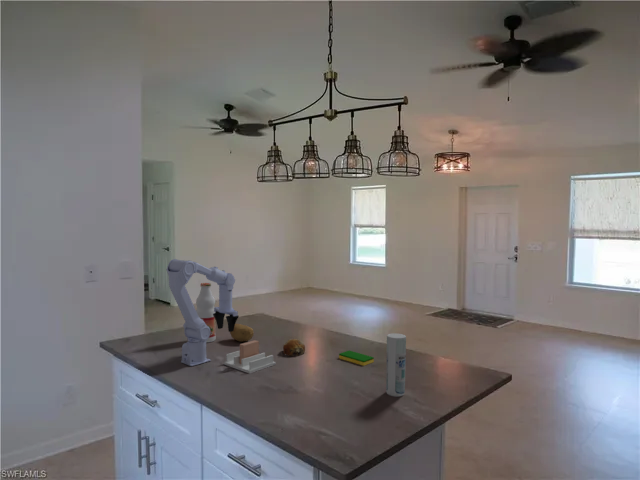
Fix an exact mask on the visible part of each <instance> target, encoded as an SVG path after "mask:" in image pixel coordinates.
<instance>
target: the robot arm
mask: <svg viewBox="0 0 640 480" xmlns="http://www.w3.org/2000/svg"><path fill="white" fill-rule="evenodd" d="M166 272H167V275H168V285H169V287H168V288H169V289H170V291H171V293H172V296H173V298H174V300H175V302H176V304H177V307H178V309H179V311H180V313H181V315H182V317H183V319H184V323H183V325H182V327H183V330H184V332H183V333H184V335H185V337H186V340H187V342H184V343H182V346H181V360H180V363H182V364H185V365H187V366H190V367H195V366H198V365H200V364H204V363H207V362H211V361H212V360H211V359H210V358H207V343H206V341H207V340H208V338H209V336H210V328H209V327H208V326H207V325H206V324H205V322H204V321H203V320H202V319H200V318H199V316H198V314H197V312H196V310H197V309H196V308H195V306H194V305H195V304H194V303H193V300H192V299H191V296H190V294H189V292H188V290H187V287H186V284H187V283H189V281H190V280H191V278H192V276H193V275H194V274H200V275H203V276H205V278H206V279H207V280H208V281H210V282H213V283H216V284H217V286H218V306H214V312H215V313H213V316H214V317H215V320H216V327H217V329H218V330H220V329H223V327H224V319H225V318H226V321H227V328H228V329H227V330H228V332H229V333H230V332H232V331H233V330H234V326H235V324H237V321H238V319H239V312H238V311H237V310H235V308H234V307H233V289H234V285H235V282H236V279H235V276H234V275H233V274H232V272H231V273H230V272H226V270H224V269H223V270H221V269H219V267H218V266H212V267H209V268H208V267H207V266H204V265H203V264H200V263H199V262H196V261H192V260H185V259H184V260H181V259H176V258H174V259H171V260H170V261H169V262H168V264H167V266H166ZM225 315H226V316H225Z"/></svg>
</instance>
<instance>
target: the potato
mask: <svg viewBox="0 0 640 480" xmlns="http://www.w3.org/2000/svg"><path fill="white" fill-rule="evenodd" d="M254 334H255V332H254V329H253V328H252V327H250V326H248V325H246V324H243V323H242V324H240V323H235V326H234V330H233V331H232V332H229V335H230V336H231V338H233V339H234V340H236V341H237V342H249V341H251V339H252V338H253V337H254Z"/></svg>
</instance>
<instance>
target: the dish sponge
mask: <svg viewBox="0 0 640 480" xmlns="http://www.w3.org/2000/svg"><path fill="white" fill-rule="evenodd" d="M338 359H339V360H344V361H347V362H349V363H353V364H357V365H360V366H363V367H364V366H367V365H369V364H372V363H374V362H375V357H374V356H372V355H371V356H370V355H366V354H363V353H360V352H357V351H353V350H346V351H343V352H340V353H338Z"/></svg>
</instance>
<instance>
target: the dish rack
mask: <svg viewBox="0 0 640 480" xmlns="http://www.w3.org/2000/svg"><path fill="white" fill-rule="evenodd" d="M276 363H277V362H276V361H274V355H273V354H270V355H267V356H266V352H262V353H259V354H257V355H254V356H251V357H247V358H244V359H241V364H240V350H236V351H233V352H230V353H226V355H225V361H223V365H225V366H226V367H230V368H233V369H236V370H239V371H242V372H244V373H247V374H252V373H255V372H258V371H261V370H264V369H266V368H267V369H268V368H269V367H273V366H276Z"/></svg>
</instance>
